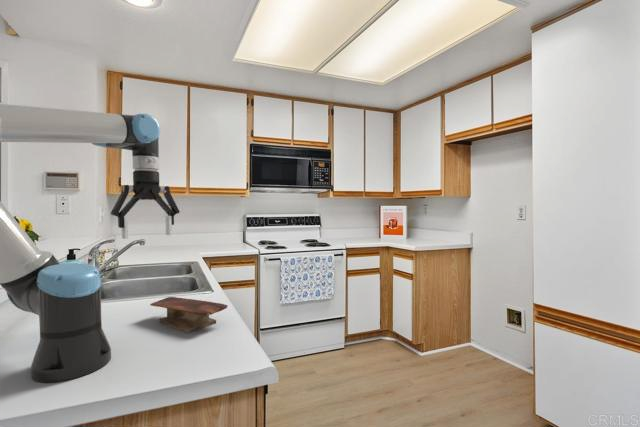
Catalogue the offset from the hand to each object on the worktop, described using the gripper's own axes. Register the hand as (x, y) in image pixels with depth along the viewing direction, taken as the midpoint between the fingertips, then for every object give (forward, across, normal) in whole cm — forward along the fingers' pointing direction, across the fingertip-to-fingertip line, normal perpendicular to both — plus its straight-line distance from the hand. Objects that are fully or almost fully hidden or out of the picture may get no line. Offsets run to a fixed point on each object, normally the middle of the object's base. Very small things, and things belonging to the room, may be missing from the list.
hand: (147, 236), depth 109 cm
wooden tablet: (+22, +7, -12) cm, 26 cm away
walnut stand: (+27, +7, -11) cm, 30 cm away
